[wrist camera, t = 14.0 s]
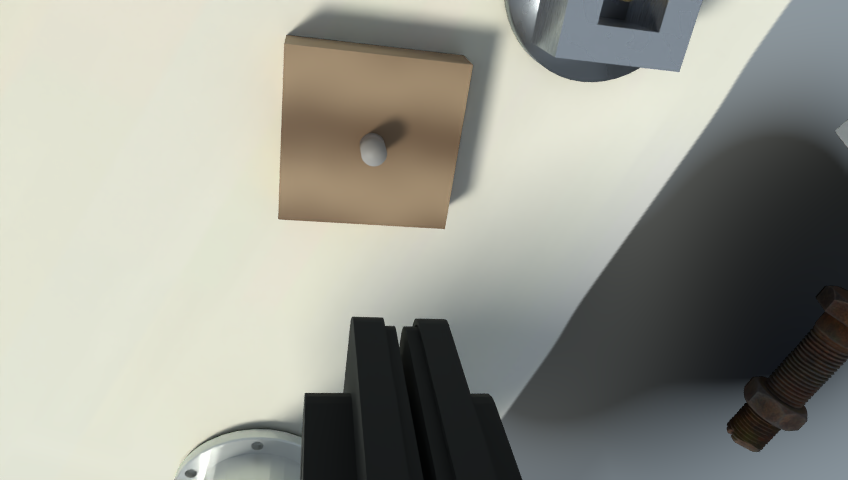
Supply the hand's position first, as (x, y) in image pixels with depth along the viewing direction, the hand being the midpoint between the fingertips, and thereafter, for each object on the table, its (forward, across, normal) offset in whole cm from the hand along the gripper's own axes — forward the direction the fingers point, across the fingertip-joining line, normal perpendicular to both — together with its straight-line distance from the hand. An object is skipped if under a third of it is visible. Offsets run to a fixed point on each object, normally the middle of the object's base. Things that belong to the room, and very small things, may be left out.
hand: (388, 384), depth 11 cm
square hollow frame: (+26, -14, -6) cm, 30 cm away
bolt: (+28, -38, +21) cm, 52 cm away
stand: (+27, -2, +4) cm, 27 cm away
